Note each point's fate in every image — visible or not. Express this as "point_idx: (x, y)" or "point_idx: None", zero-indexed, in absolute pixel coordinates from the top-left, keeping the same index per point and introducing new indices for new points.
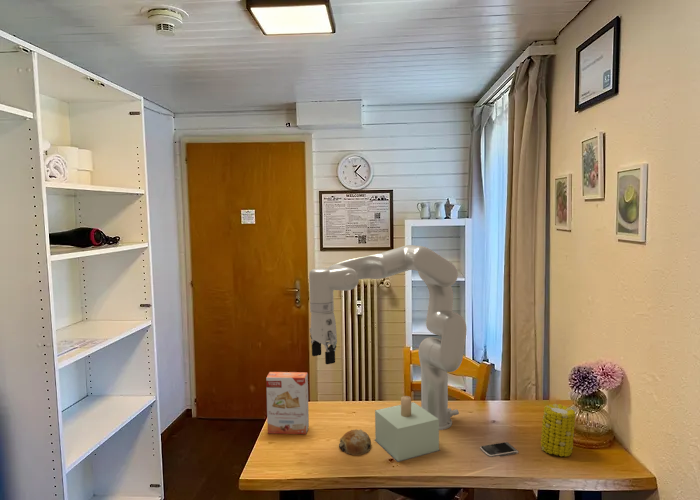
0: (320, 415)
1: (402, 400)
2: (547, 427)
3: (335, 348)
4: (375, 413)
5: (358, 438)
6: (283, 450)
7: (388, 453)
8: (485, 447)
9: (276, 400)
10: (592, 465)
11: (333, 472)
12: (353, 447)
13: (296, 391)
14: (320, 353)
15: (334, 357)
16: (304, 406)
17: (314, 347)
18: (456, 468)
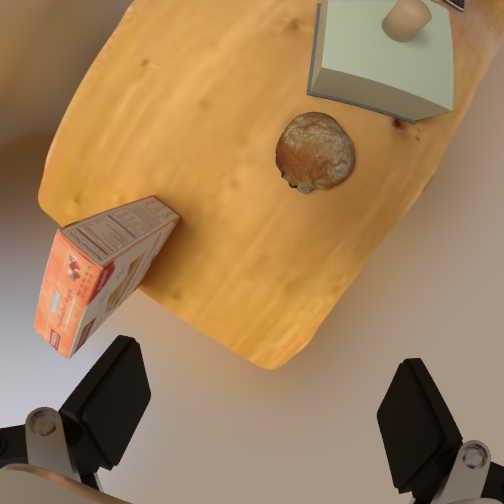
0: (114, 142)
1: (420, 24)
2: None
3: (490, 458)
4: (322, 70)
5: (345, 160)
6: (222, 291)
7: (379, 111)
8: None
9: (111, 306)
10: None
11: (364, 251)
12: (344, 179)
13: (119, 275)
14: (134, 353)
15: (433, 391)
16: (151, 238)
17: (121, 442)
18: (469, 67)
